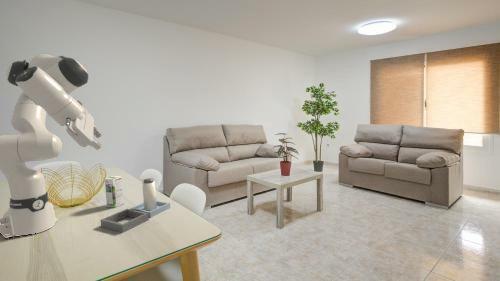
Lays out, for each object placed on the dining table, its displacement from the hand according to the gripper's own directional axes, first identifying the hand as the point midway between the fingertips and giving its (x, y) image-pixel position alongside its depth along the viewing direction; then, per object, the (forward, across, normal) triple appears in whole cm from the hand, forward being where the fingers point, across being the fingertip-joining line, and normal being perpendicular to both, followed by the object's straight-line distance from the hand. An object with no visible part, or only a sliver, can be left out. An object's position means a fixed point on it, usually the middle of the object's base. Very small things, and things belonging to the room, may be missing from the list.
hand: (99, 142), depth 97 cm
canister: (+43, +7, +9) cm, 45 cm away
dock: (+35, -2, +17) cm, 38 cm away
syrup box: (+40, +22, +25) cm, 52 cm away
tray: (+44, +7, +9) cm, 45 cm away
